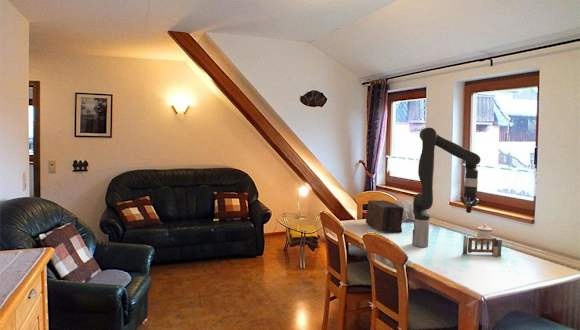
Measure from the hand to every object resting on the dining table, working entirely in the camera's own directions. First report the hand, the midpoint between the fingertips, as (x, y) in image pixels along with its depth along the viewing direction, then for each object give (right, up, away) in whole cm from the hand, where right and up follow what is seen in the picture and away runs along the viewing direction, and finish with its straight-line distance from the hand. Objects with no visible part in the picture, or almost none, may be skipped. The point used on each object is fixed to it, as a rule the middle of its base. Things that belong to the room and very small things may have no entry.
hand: (468, 212), depth 261 cm
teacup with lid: (+18, -22, +19) cm, 34 cm away
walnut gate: (+3, -23, -12) cm, 26 cm away
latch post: (+11, -24, -13) cm, 30 cm away
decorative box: (-42, -18, +49) cm, 67 cm away
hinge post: (-7, -24, -12) cm, 27 cm away
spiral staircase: (-16, -16, +78) cm, 82 cm away
